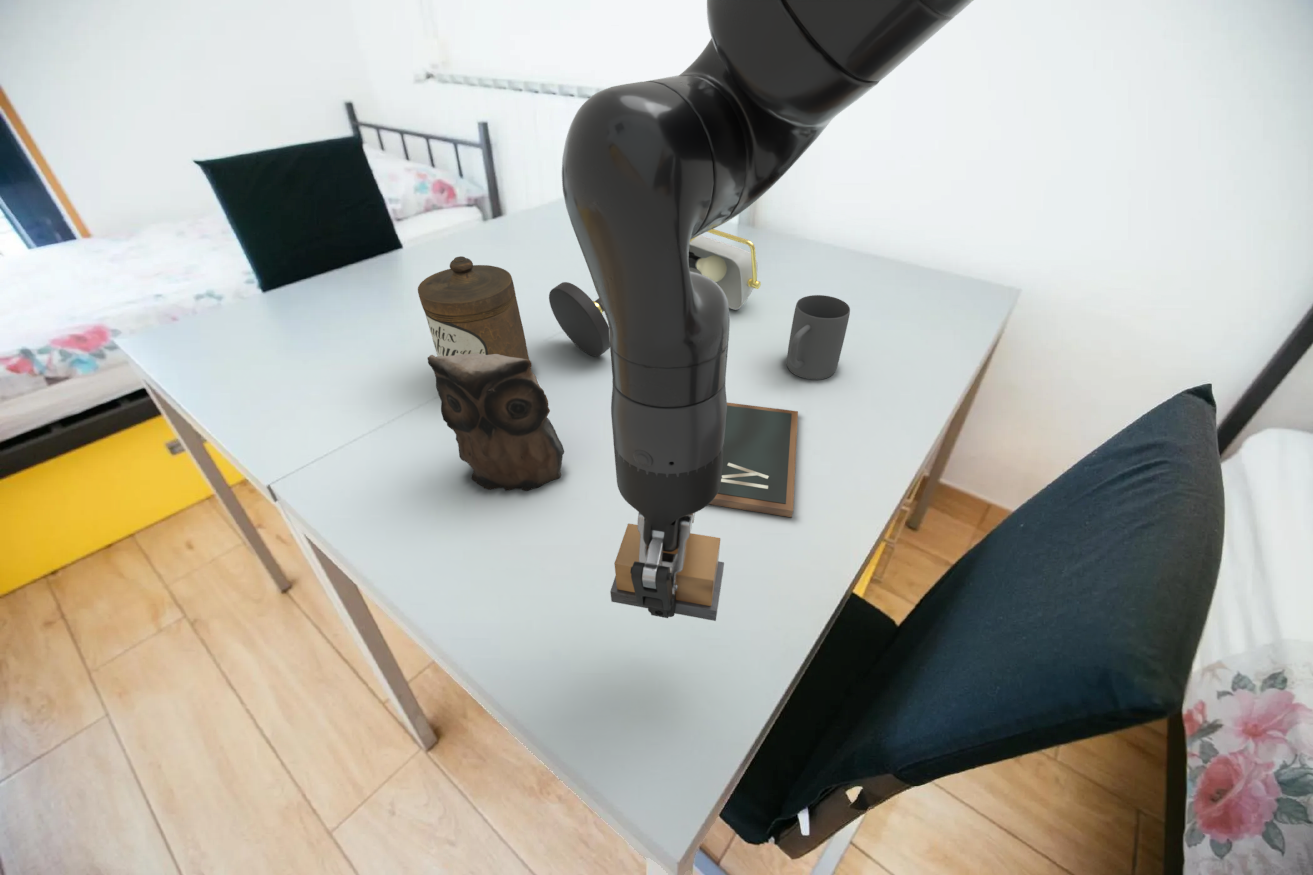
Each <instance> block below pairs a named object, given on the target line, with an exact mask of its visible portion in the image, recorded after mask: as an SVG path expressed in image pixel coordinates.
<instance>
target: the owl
mask: <svg viewBox="0 0 1313 875" xmlns="http://www.w3.org/2000/svg"><path fill="white" fill-rule="evenodd" d="M427 364H428V365H429V367H431V369H432V371H433V373H434V376H435V387H436V390H437V394H438V398H439V399H440V402H441V403H440V412H441V416H442V420H443V421H444V422H445V423H446V426H447V427H448V428H449V429H451V430H452V431H453V432H454V434H455V440H456V443H457V447H458V454H459V455H458V456H459V458H460V459H461V461H463V462H465V463H467V464H468V465H469V466H470V468H471V469H472V470H473V472H472V473H471V480H472V481H474V482H475V483H476V484H477V485H479V486H481V487H482V488H483V489H486V490H488V491H492V490H495V489H501V488H503V489H504V491H505V492H506V491H512V490H515V489H517V490H520V489H522V490H523V491H524V492H528V491H530V490H533V489H538V488H540V487H542V486H543V485H545V484H547V483H549V482H552V481H554V480H558V479H560V478H561V477H562V471H561V468H562V464H563V456H564V454H565V449H564V446H563V443H562V441H561V439H560V438H559V436H558V434H557V431H556V429H555V427H554V425H553V423H552V422H551V420H550V419H549V418H548V415H549V414H550V412H551V409H550V408H549V400H548V398H547V395H546V394H545V390H544V389H543V388H542V387H541V385H540V384H539V383H538V380H537V379H538V378H537V376H536V374H534V373H533V371H532V361H531V360H530V359H529V360H528V359H522V358H515V357H507V356H503V355H499V354H492V355H484V354H477V353H476V354H460V355H454V356H436V355H433V354H430V355H429V356H427ZM530 369H531V370H530Z"/></svg>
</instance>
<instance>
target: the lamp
mask: <svg viewBox="0 0 1313 875" xmlns="http://www.w3.org/2000/svg"><path fill="white" fill-rule="evenodd" d="M706 233H709V234H712V235H715V236H719V237H722V238H725V239H728V240H730V241H734V242H737V243H741V244H743V245H747V246H748V247H749V249H750V251H748V250H746V249H744V248H740V247H738V246H735V245H732V244H729V243H726V242H724V241H720V240H717V239H714V238H711V237H708V236H706V235H703V234H701V235H699V236H697V237H695V238H693V239H691V240H690V245H689V254H688V261H689V270H690V272H694V273H698V274H701V275H704V276H706V277H708V278H710V279H712V280H713V281H714V282H716V283H717V284H718V285H719V286H720V287H721V288H722V290H723V291H724V293H725V295H726V297H727V301H728V306H729V309H731V310H734V311H737V310H740V309H741V308H742V307H743V305H744V304H745V303H746V302H747V300H748V299H749V297H750V296H751V294H752V293H753V290H754V289H756V290H759V289H760V287H761V285H762V283H761V281H759V280H758V273H759V272H758V270H759V268H758V260H757V255H756V253H757V252H756V246H755V244H754V242H752V241H751V240H749V239H746V238H743V237H740V236H737V235H734V234H731V233H728V232H725V231H721V230H718V229H716V228H714V229H711V230H709V231H707V232H706ZM548 300H549V302H548V303H549V306H550V308H551V312H552V313H553V314H552V315H553V317H554V318H555V319H556V321H557V323H558V325H559V326H560V328H561V330H562V331H563V332H564V334H565V335H566V336H567V337H568V338H569V340H570V341H571V342H572V343H573V344H574V345H575V346H576V347H577V348H579V349H580V350H581V351H582V352H584V353H585V354H587V355H589V356H592V357H596V358H597V357H600V356H601V355H603V354H604V353H606V352H607V351H608V350H609V349H610V341H609V324H608V321H607V319H606V318H605V316H604V315H603V313H604V309H603V307H602V304H601V302H600V299H599V297H598V298H596V299H595V300H593V299H592V298H591V297H590V296H589V295H588V294H587V293H586V292H585V291H583V289H581V288H580V287H579V286H577V285H575V284H574V283H571V282H568V281H562V282H561V283H559V284H557V285H556V286H555V287H553V288H551V290H550V291H549V294H548Z"/></svg>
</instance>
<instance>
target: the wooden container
mask: <svg viewBox="0 0 1313 875" xmlns="http://www.w3.org/2000/svg"><path fill="white" fill-rule="evenodd" d="M513 280H514V279H513V277H512V275H511V273H510V272H509V271H508V270H506V269H505V268H502V267H499V266H494V265H489V264H474V263H473V261H472V260H471V259H470V258H467V257H465V256H456V257H453V259H452V260H451V261H450V263H449V268H447V269H444V270H441V271H439V272H435V273H433V274H431V275H429V276H427V277H426V278H424V279H423V280H422V281H421V282H420V283H419V285H418V286H417V293H418V294H417V295H418V297H419V301H420V304H421V307H422V310H423V312H424V314H425V315H424V316H425V317H426V321H427V324H428V328H429V331H430V335H431V338H432V342H433V347H434V349H435V350H434V351H435V353H436V357H438V356H454V355H460V354H476V353H477V354H484V355H492V354H499V355H503V356H507V357H515V358H522V359H528V360H530V357H529V351H528V346H527V341H526V336H525V331H524V328H523V327H524V326H523V323H522V316H521V313H520V309H519V304H518V300H517V294H516V289H515V285H514V281H513ZM530 370H531V371H532V368H531V369H530Z"/></svg>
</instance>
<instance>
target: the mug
mask: <svg viewBox="0 0 1313 875" xmlns="http://www.w3.org/2000/svg"><path fill="white" fill-rule="evenodd" d="M850 314H851V307H850V305H849V304H848V303H847V302H845V301H844V300H842V299H839V298H838V297H834V296H830V295H824V294H823V295H821V294H813V295H807V296H803V297H801V298H799V299H798V300H797V302H796V304H795V306H794V312H793V316H792V317H793V318H792V323H791V328H790V335H789V340H788V347H787V352H786V353H787V354H786V367H787V369H788V370H789V372H790V373H792V374H793V375H795V376H797V377H799V378H802V379H806V380H813V381H814V380H817V381H819V380H825V379H828V378H830V377H832V376H833V375H834V374H835V373H836V371H837V368H838V365H839V361H840V358H841V354H842V349H843V346H844V343H845V338H846V333H847V329H848V324H849V319H850Z"/></svg>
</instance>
